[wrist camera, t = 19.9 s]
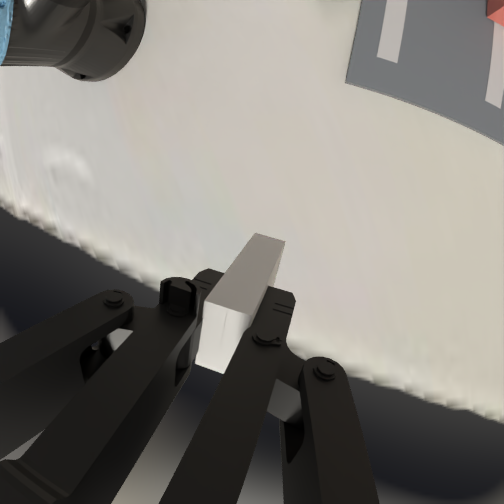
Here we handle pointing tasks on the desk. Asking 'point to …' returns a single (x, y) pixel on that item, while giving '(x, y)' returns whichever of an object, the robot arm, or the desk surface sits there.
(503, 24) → the red slider
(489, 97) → the track board
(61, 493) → the robot arm
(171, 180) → the desk surface
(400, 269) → the desk surface
